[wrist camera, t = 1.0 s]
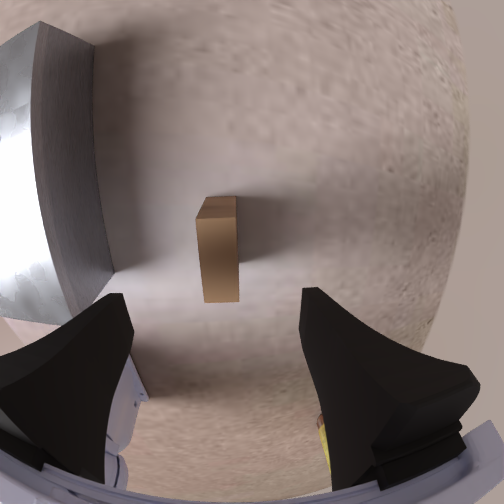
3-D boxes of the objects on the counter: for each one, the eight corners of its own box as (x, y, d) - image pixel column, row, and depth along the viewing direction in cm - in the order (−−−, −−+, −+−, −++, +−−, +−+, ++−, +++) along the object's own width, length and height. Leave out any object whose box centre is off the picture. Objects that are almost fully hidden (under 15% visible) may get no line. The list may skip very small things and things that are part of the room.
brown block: (238, 263, 20) (239, 302, 16) (211, 264, 20) (204, 302, 16) (236, 195, 18) (235, 217, 14) (206, 197, 18) (195, 219, 14)
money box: (114, 273, 20) (76, 327, 14) (9, 273, 19) (-30, 309, 13) (94, 45, 13) (39, 20, 6) (-16, 101, 12) (-67, 106, 6)
